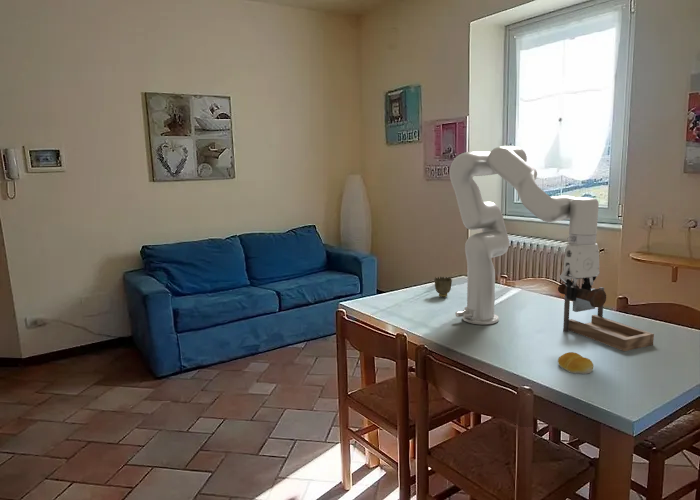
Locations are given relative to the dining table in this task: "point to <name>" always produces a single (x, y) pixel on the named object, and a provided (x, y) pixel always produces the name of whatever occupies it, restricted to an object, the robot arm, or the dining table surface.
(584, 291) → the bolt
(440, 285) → the cup
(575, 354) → the bread roll
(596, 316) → the cradle
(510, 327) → the dining table surface
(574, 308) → the gate
